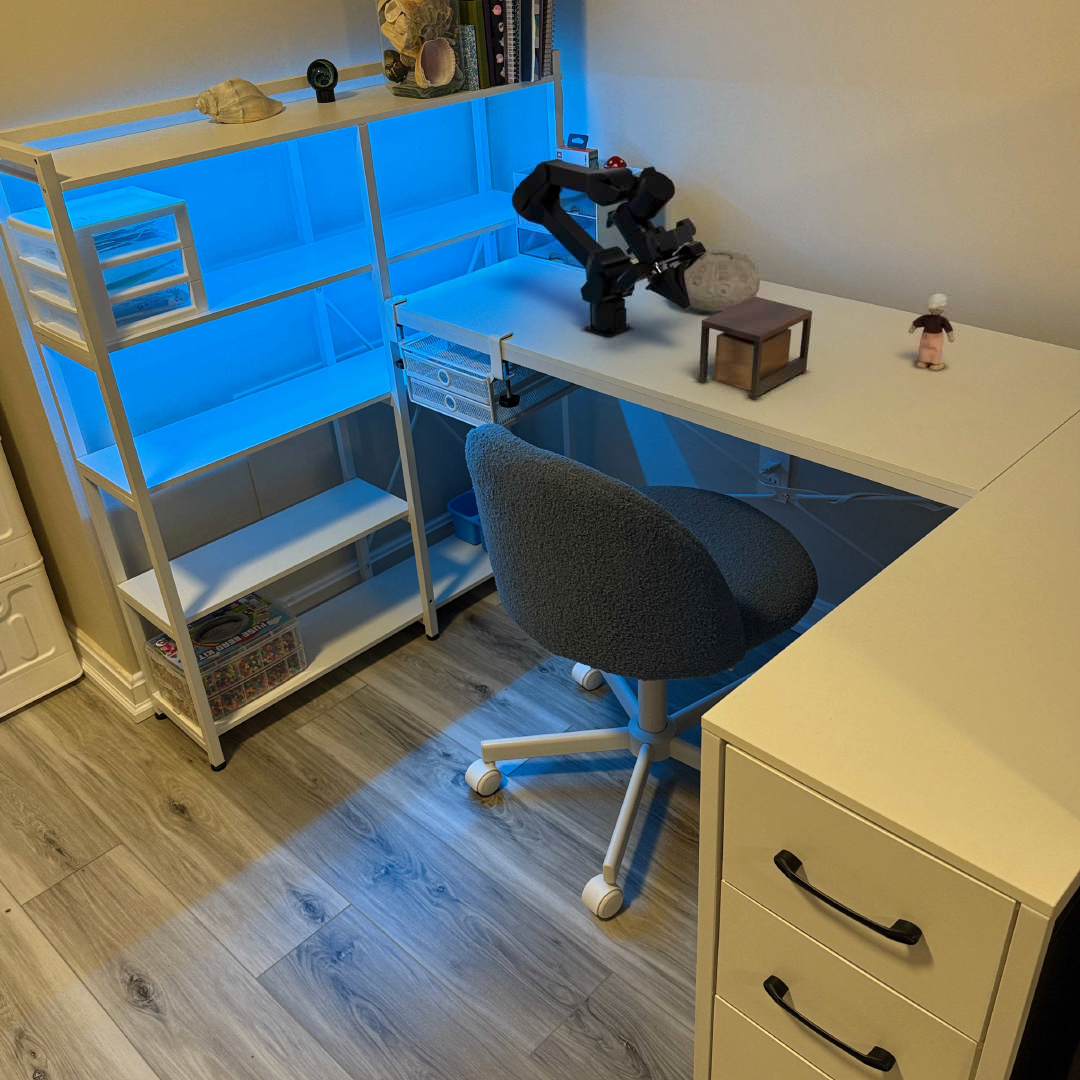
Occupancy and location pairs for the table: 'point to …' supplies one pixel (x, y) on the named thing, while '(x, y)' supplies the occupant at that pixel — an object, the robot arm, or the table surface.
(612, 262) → the robot arm
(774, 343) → the wooden box
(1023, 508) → the table surface
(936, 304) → the grandmother figurine
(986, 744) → the table surface
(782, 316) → the desk shelf
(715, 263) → the grey rounded stone
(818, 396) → the table surface
